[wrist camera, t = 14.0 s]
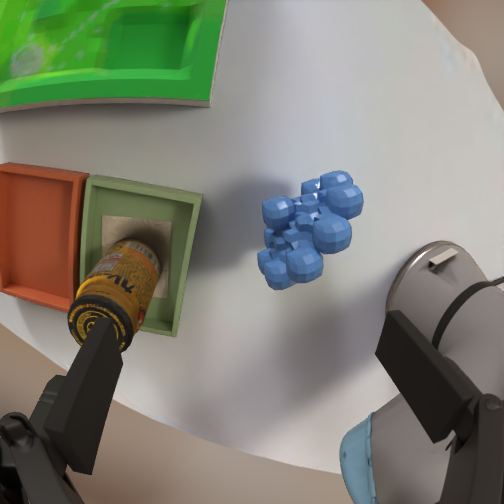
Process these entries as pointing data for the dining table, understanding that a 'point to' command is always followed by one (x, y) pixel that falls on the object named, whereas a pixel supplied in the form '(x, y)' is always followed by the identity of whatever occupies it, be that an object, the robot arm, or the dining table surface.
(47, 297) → the terracotta tray
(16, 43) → the tray
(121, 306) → the condiment
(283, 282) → the grapes
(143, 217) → the green tray
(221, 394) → the dining table surface
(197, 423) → the dining table surface
